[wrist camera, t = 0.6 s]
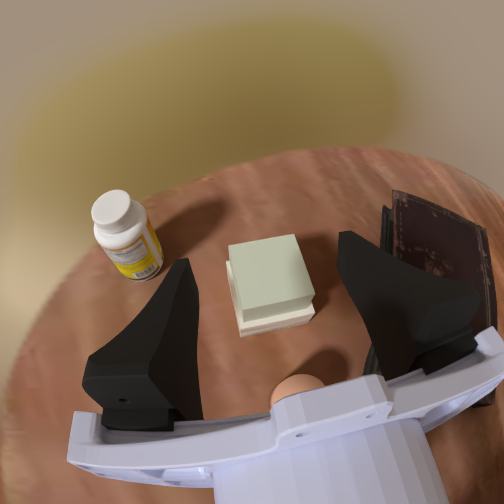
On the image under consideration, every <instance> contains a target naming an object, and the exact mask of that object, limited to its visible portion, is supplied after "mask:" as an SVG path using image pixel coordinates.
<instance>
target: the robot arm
mask: <svg viewBox="0 0 504 504" xmlns="http://www.w3.org/2000/svg"><path fill="white" fill-rule="evenodd" d="M337 268H338V271H339V273H340V276H341V278H342V281H343V283H344V285H345V287H346V289H347V291H348V292H349V294H350V296H351V298H352V300H353V301H354V303H355V305H356V307H357V309H358V311H359V312H360V314H361V316H362V318H363V320H364V323H365V325H366V328H367V330H368V333H369V335H370V338H371V341H372V344H373V347H374V350H375V353H376V356H377V360H378V363H379V367H380V371H381V375H382V376H380V375H377V374H369V375H364V376H360V377H356V378H353V379H350V380H346V381H342V382H339V383H335V384H331V385H327V386H323V387H319V388H315V389H311V390H306V391H302V392H298V393H295V394H291V395H288V396H285V397H283V398H282V399H280V400H278V401H277V402H275V403H274V404H273V406H272V408H271V410H270V412H265V413H259V414H253V415H246V416H238V417H230V418H221V419H210V420H204V419H203V412H202V405H201V397H200V389H199V378H198V365H197V338H198V323H199V292H198V288H197V284H196V281H195V278H194V275H193V272H192V269H191V265H190V262H189V259H188V258H184V259H178V260H175V262H174V263H173V265H172V266H171V268H170V270H169V271H168V273H167V275H166V276H165V278H164V280H163V281H162V283H161V284H160V286H159V287H158V289H157V290H156V292H155V293H154V295H153V296H152V298H151V299H150V300H149V302H148V303H147V304H146V306H145V307H144V308H143V309H142V311H141V312H140V313H139V314H138V315H137V316H136V317H135V319H134V320H133V321H132V322H131V323H130V324H129V325H128V326H127V327H126V328H125V329H124V330H123V331H121V332H120V333H119V334H118V335H117V336H116V337H115V338H113V339H112V340H111V341H110V342H109V343H107V344H106V345H105V346H103V347H102V348H100V349H99V350H97V351H96V352H95V353H93V354H92V355H90V356H89V357H88V361H87V364H86V368H85V372H84V376H83V380H82V386H83V389H84V390H85V392H86V393H87V394H88V395H89V396H90V397H91V398H92V399H93V400H95V401H96V402H97V403H98V404H99V405H100V406H101V407H103V414H102V415H101V414H99V413H96V412H86V411H74V416H73V422H72V428H71V434H70V440H69V447H68V455H67V461H68V462H69V463H71V464H73V465H76V466H78V467H80V468H82V469H84V470H86V471H88V472H91V473H93V474H95V475H98V476H100V477H105V478H111V479H117V480H124V481H131V482H138V483H146V484H154V485H164V486H177V487H198V488H214V496H215V504H449V501H448V497H447V494H446V491H445V488H444V485H443V482H442V479H441V476H440V474H439V471H438V468H437V465H436V462H435V460H434V457H433V454H432V452H431V449H430V446H429V444H428V441H427V439H426V436H425V433H426V432H428V431H430V430H432V429H434V428H435V427H437V426H439V425H441V424H442V423H444V422H446V421H447V420H449V419H451V418H452V417H454V416H455V415H457V414H459V413H460V412H462V411H463V410H465V409H466V408H468V407H469V406H471V405H472V404H474V403H475V402H477V401H478V400H480V399H481V398H483V397H484V396H486V395H487V394H489V393H490V392H491V391H492V390H493V389H494V388H495V387H496V386H497V385H498V384H499V383H500V382H501V381H502V380H503V379H504V341H503V340H502V338H501V337H500V335H499V334H498V333H497V331H496V330H495V328H494V327H493V326H491V327H489V328H487V329H485V330H483V331H482V332H480V333H478V334H477V335H476V336H475V337H473V335H472V334H471V332H472V331H473V328H472V326H471V325H470V322H471V320H472V319H473V317H474V315H475V313H476V311H477V309H478V307H479V304H480V295H479V294H478V292H477V291H476V290H475V289H474V288H473V286H472V285H471V284H470V283H467V282H462V281H457V280H452V279H449V278H445V277H441V276H438V275H435V274H432V273H429V272H427V271H424V270H421V269H419V268H416V267H414V266H412V265H410V264H408V263H405V262H403V261H401V260H399V259H398V258H396V257H394V256H392V255H390V254H389V253H387V252H385V251H383V250H382V249H380V248H378V247H377V246H375V245H374V244H372V243H370V242H369V241H367V240H366V239H364V238H363V237H361V236H359V235H358V234H356V233H354V232H352V231H344V232H339V241H338V256H337Z"/></svg>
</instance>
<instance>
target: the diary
mask: <svg viewBox="0 0 504 504" xmlns="http://www.w3.org/2000/svg"><path fill="white" fill-rule="evenodd" d="M392 202H393V207H392V209H391V210H390V209H388V208H387V207H386V206H384V205H383V209H382V223H381V238H380V249H382V250H383V251H385V252H387V253H389V254H390V255H392V256H394V257H396V258H398V259H399V260H401V261H403V262H405V263H408V264H410V265H412V266H414V267H416V268H419V269H421V270H424V271H427V272H429V273H432V274H435V275H438V276H441V277H445V278H449V279H452V280H457V281H462V282H467V283H470V284H471V285H472V286H473V288H474V289H475V290H476V291H477V292H478V294H479V295H480V304H479V307H478V309H477V311H476V313H475V315H474V317H473V319H472V320H471V322H470V325H471V326H472V328H473V331H472V332H471V334H472V335H473V337H475V336H476V335H477V334H478V333H480V332H482V331H483V330H485V329H487V328H489V327H491V326H493V327H494V328H495V330H496V331H497V300H496V291H495V284H494V277H493V271H492V265H491V257H490V250H489V243H488V237H487V232H486V229H485V228H483V227H481V226H479V225H476V224H475V223H473V222H471V221H469V220H467V219H465V218H463V217H461V216H459V215H458V214H456V213H454V212H452V211H450V210H448V209H446V208H444V207H441V206H439V205H437V204H434V203H432V202H430V201H427V200H425V199H422V198H419V197H416V196H414V195H411V194H408V193H405V192H402V191H398V190H392ZM369 374H377V375H380V376H382V375H381V371H380V367H379V363H378V360H377V356H376V353H375V350H374V347H373V344H371V347H370V350H369V353H368V356H367V359H366V363H365V367H364V372H363V376H364V375H369ZM495 391H496V387H495V388H494V389H493V390H492V391H491V392H490V393H489V394H487V395H486V396H484V397H483V398H481V399H480V400H478V401H477V402H475V403H474V404H473V408H478V407H485V406H489V405H492V404H494V400H495Z"/></svg>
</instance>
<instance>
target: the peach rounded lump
mask: <svg viewBox="0 0 504 504" xmlns="http://www.w3.org/2000/svg"><path fill="white" fill-rule="evenodd" d="M323 386H325V385H324V384H323V383H322V382H321V381H320V380H319V379H318V378H316V377H314V376H311V375H307V374H298V375H293V376H291V377H289V378H287V379H285V380H284V381H282V382H281V383H279V384H278V385H276V386H275V387H274V389H273V390H272V392H271V394H270V396H269V409H270V410H271V408H272V406H273V404H274V403H275V402H277V401H278V400H280V399H282V398H283V397H285V396H288V395H291V394H295V393H298V392H302V391H306V390H311V389H315V388H319V387H323Z"/></svg>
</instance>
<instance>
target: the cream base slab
mask: <svg viewBox="0 0 504 504" xmlns="http://www.w3.org/2000/svg"><path fill="white" fill-rule="evenodd" d="M226 265H227V274H228V280H229V285H230V290H231V295H232V299H233V304H234V309H235V314H236V318H237V323H238V328H239V332H240V337H241V338H242V337H247V336H252V335H256V334H261V333H266V332H271V331H275V330H280V329H284V328H288V327H293V326H297V325H301V324H305V323H308V322H309V321H310V319H311V318H312V316H313V315H314V314H315V311H314V308H313V305H312V302H310V304H309V305H308V307H307V308H306V309H302V310H298V311H294V312H290V313H285V314H281V315H277V316H272V317H268V318H263V319H259V320H254V321H249V322H244V323H243V320H242V316H241V311H240V307H239V303H238V298H237V294H236V290H235V285H234V281H233V276H232V272H231V267H230V261H226Z"/></svg>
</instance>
